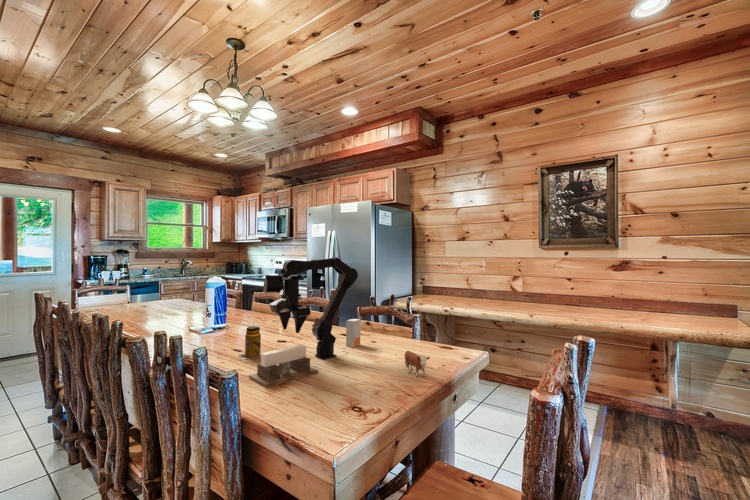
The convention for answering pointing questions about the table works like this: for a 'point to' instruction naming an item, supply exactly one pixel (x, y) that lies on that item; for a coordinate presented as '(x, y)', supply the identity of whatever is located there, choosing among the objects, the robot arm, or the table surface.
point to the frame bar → (283, 355)
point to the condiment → (252, 343)
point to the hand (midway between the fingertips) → (291, 331)
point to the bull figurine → (415, 362)
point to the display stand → (282, 372)
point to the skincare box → (353, 332)
